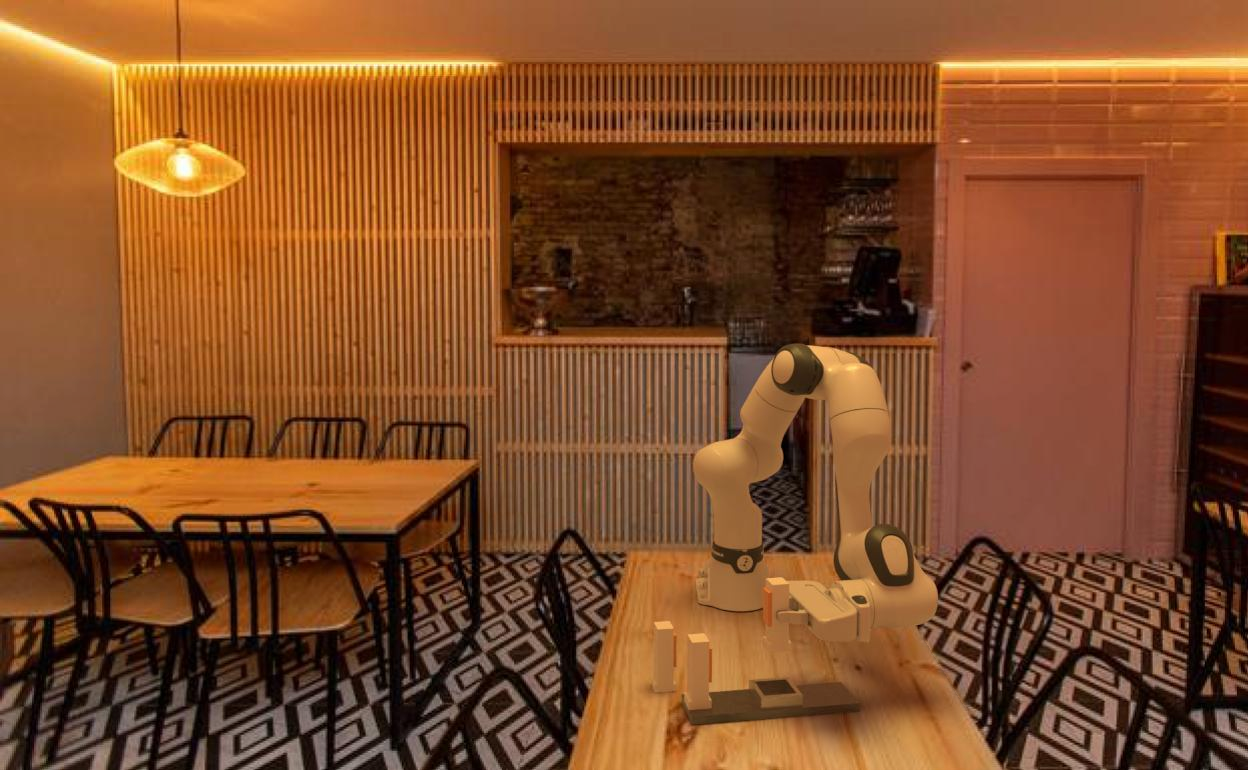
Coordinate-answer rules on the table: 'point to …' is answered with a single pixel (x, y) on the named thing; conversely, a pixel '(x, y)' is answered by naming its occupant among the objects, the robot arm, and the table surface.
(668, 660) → the white orange block
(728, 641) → the table surface
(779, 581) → the beige tall square block
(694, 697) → the post
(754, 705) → the rail
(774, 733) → the table surface
